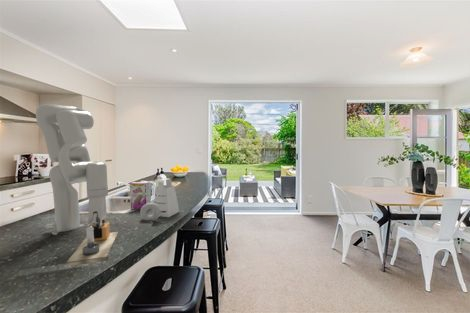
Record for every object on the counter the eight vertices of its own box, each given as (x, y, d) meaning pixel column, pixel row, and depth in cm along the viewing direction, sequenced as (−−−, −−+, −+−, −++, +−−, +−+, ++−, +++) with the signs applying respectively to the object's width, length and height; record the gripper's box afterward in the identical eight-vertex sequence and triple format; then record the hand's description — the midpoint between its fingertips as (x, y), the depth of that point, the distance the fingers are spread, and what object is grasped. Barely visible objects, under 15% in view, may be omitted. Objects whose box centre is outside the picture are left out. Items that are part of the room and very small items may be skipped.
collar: (89, 241, 98) (88, 229, 98) (93, 235, 104) (92, 223, 104) (106, 239, 100) (106, 227, 100) (109, 233, 106) (109, 222, 106)
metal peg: (80, 256, 85) (79, 229, 85) (85, 250, 90) (83, 224, 90) (97, 254, 87) (95, 227, 86) (100, 248, 92) (99, 223, 91)
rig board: (66, 266, 82) (66, 262, 82) (88, 238, 106) (88, 235, 106) (106, 260, 85) (106, 256, 85) (118, 235, 109) (118, 231, 109)
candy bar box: (130, 209, 152) (129, 183, 151) (135, 207, 157) (134, 181, 156) (146, 209, 150) (145, 183, 149) (151, 207, 155) (150, 182, 154)
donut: (140, 223, 124) (139, 204, 123) (140, 221, 127) (139, 202, 126) (160, 221, 126) (159, 202, 126) (160, 219, 130) (160, 201, 129)
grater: (152, 215, 137) (151, 180, 136) (164, 210, 147) (162, 177, 146) (168, 217, 134) (167, 180, 133) (179, 211, 144) (177, 178, 142)
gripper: (93, 189, 108) (95, 228, 109) (80, 197, 92) (83, 244, 93) (111, 188, 110) (113, 226, 112) (102, 196, 94) (105, 241, 95)
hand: (99, 234), depth 102 cm, fingers closed on collar, 6 cm apart
